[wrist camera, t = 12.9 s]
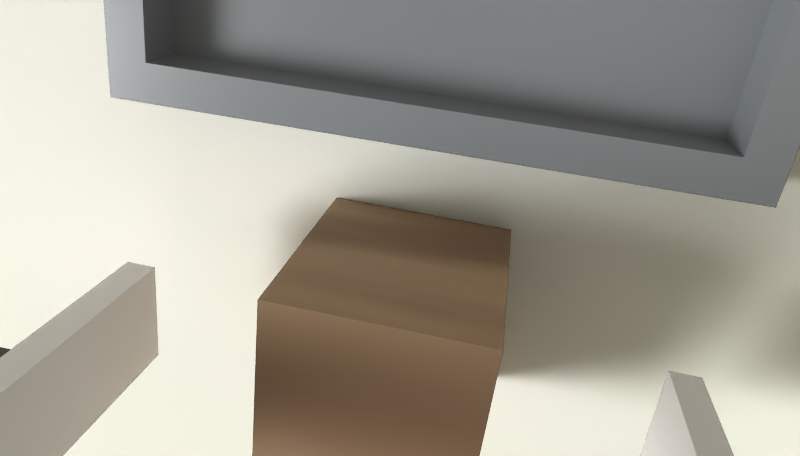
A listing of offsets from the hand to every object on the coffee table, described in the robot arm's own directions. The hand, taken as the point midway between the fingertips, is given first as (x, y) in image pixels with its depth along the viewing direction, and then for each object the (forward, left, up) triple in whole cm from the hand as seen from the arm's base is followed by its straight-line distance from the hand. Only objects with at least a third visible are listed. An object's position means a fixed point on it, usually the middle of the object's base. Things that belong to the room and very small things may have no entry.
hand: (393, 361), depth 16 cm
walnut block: (0, 0, -3) cm, 3 cm away
